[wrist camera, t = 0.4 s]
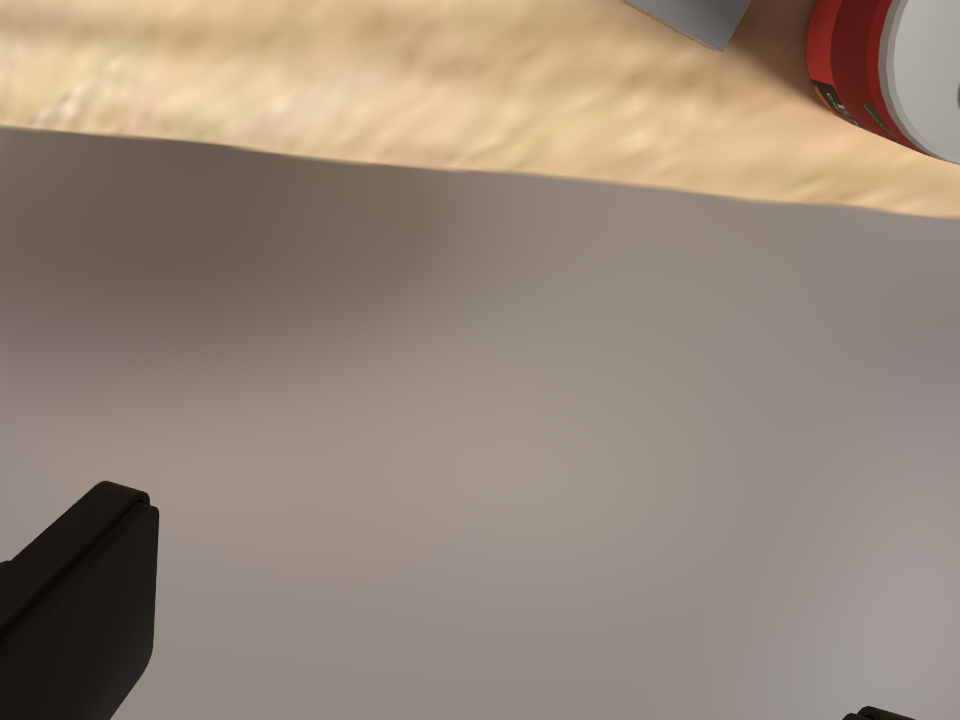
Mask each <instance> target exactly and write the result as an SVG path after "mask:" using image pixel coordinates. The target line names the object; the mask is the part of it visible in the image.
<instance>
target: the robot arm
mask: <svg viewBox="0 0 960 720" xmlns="http://www.w3.org/2000/svg"><path fill="white" fill-rule="evenodd" d="M158 531H159V510H158V508H157V507H154V506H151V505H150V498H149V496H148V494H147V493H146V492H143V491H140V490H136V489H133V488H130V487H126V486H123V485H119V484H116V483H113V482H109V481H102V482H100V483H99V484H97V485H95V486H94V487H93V488H92V489H91V490H90V491H89V492H87V493H86V494H85V495H84V496H83V497H82V498H81V499H80V500H78V501H77V502H76V503H75V504H74V505H73V506H72V507H71V508H69V509H68V510H67V511H66V512H65V513H64V514H63V515H61V516H60V517H59V518H58V519H57V520H56V521H55V522H54V523H52V524H51V525H50V526H49V527H48V528H47V529H46V530H45V531H43V532H42V533H41V534H40V535H39V536H38V537H37V538H36V539H35V540H33V541H32V542H31V543H30V544H29V545H28V546H27V547H25V549H23V550H22V551H21V552H20V553H19V554H18V555H16V556H15V557H14V558H13V559H12V560H11V561H4V562H1V563H0V720H110V719H111V717H112V716H113V714H114V713H115V712H116V710H117V709H118V707H119V706H120V705H121V703H122V702H123V701H124V699H125V698H126V697H127V695H128V694H129V692H130V691H131V690H132V688H133V687H134V685H135V684H136V683H137V681H138V680H139V679H140V677H141V676H142V674H143V672H144V671H145V669H146V667H147V665H148V662H149V660H150V658H151V654H152V650H153V638H154V617H155V595H156V574H157V552H158ZM843 720H915V719H912V718H909V717H905V716H902V715H898V714H895V713H892V712H888V711H885V710H881V709H878V708H875V707H870V706H866V707H864V708H862V709H861V710H860V711H859V712H858V713H857V714H853V713H850V714H847V715H846V716H845V717H844V718H843Z"/></svg>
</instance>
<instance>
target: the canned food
mask: <svg viewBox="0 0 960 720" xmlns="http://www.w3.org/2000/svg"><path fill="white" fill-rule="evenodd" d="M806 60H807V66H808V73H809V76H810V79H811V82H812V84H813V87H814V89H815V92H816V93H817V94H818V96H819V97H820V99H821V100H822V102H823V103H824V105H825V106H826V107H827V108H829V109H830V110H831V111H832V112H833V113H834V114H835V115H836V116H838V117H840V118H841V119H843V120H845V121H847V122H849V123H851V124H853V125H855V126H858V127H860V128H862V129H865V130H867V131H870V132H872V133H874V134H877V135H879V136H881V137H884V138H886V139H889V140H891V141H893V142H896V143H898V144H901V145H903V146H905V147H908V148H910V149H913V150H915V151H917V152H920V153H922V154H925V155H928V156H932V157H934V158H937V159H939V160H943V161H947V162H950V163H954V164H958V165H960V0H818V1H817V3H816V6H815V8H814V11H813V13H812V16H811V20H810V24H809V29H808V33H807V41H806Z"/></svg>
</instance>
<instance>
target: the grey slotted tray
mask: <svg viewBox="0 0 960 720" xmlns="http://www.w3.org/2000/svg"><path fill="white" fill-rule="evenodd" d="M620 1H622V2H624V3H626V4H628V5H630V6H631V7H633V8H635V9H637V10H639V11H641V12H642V13H644V14H646V15H648V16H650V17H652V18H653V19H655V20H657V21H659V22H661V23H663V24H665V25H666V26H668V27H670V28H672V29H674V30H676V31H677V32H679V33H681V34H683V35H685V36H687V37H688V38H690V39H692V40H694V41H696V42H698V43H700V44H701V45H703V46H705V47H707V48H709V49H712V50H716V51H721V52H722V51H723V50H724V48H725V46H726V44H727V43H728V41H729V39H730V38H731V36H732V34H733V33H734V31H735V29H736V27H737V26H738V24H739V22H740V21H741V19H742V17H743V15H744V14H745V12H746V10H747V9H748V7H749V5H750V3H751V2H752V0H620Z"/></svg>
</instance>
